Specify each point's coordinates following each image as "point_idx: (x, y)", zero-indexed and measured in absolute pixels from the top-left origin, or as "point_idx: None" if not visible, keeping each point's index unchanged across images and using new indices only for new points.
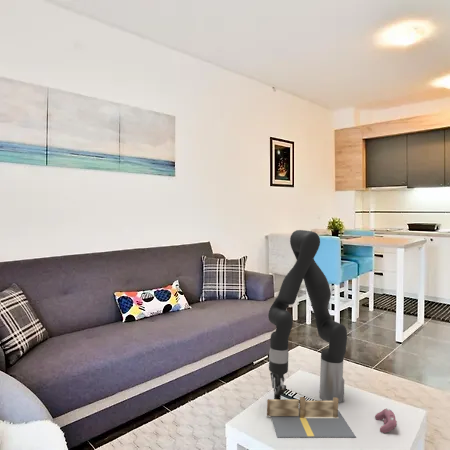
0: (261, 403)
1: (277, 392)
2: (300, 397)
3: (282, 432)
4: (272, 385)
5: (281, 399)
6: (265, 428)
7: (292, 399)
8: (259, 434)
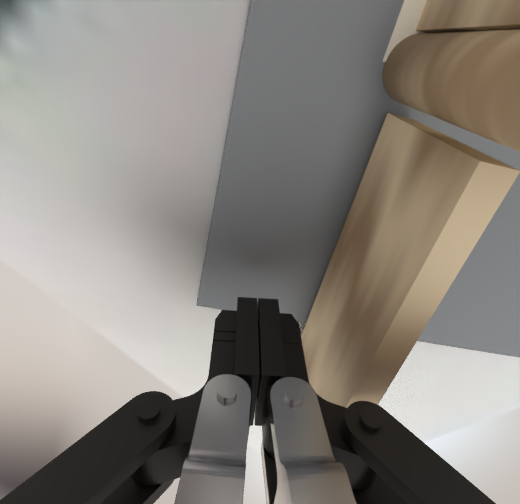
0: (112, 320)
1: (378, 498)
2: (517, 128)
3: (511, 321)
4: (140, 482)
5: (367, 370)
6: (406, 377)
7: (432, 252)
8: (438, 413)
